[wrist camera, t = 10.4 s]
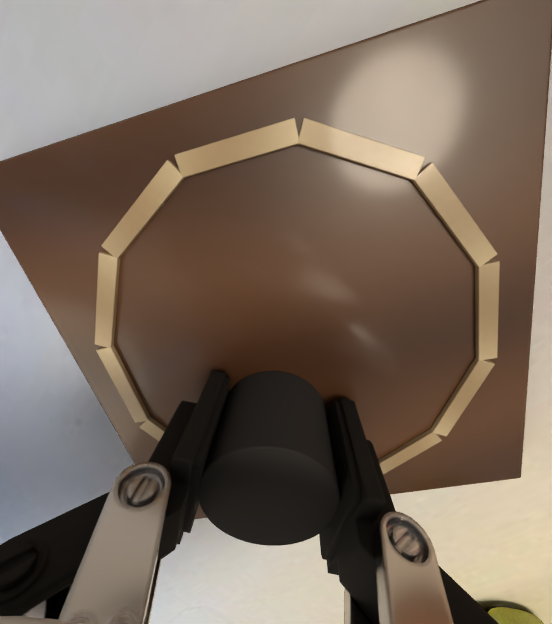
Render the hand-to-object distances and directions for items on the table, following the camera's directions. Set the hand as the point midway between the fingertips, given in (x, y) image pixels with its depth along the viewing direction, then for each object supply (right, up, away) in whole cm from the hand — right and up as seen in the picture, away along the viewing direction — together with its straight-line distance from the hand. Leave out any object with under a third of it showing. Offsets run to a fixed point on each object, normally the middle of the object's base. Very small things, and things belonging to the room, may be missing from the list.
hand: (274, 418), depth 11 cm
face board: (+1, +3, 0) cm, 3 cm away
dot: (0, 0, 0) cm, 0 cm away
